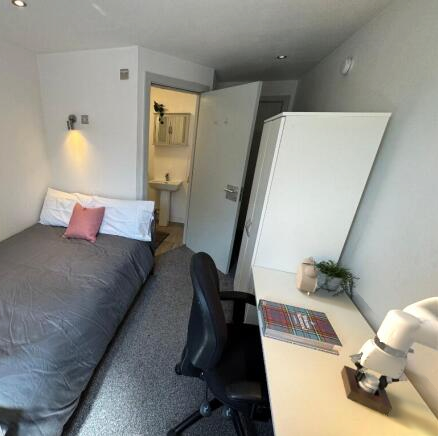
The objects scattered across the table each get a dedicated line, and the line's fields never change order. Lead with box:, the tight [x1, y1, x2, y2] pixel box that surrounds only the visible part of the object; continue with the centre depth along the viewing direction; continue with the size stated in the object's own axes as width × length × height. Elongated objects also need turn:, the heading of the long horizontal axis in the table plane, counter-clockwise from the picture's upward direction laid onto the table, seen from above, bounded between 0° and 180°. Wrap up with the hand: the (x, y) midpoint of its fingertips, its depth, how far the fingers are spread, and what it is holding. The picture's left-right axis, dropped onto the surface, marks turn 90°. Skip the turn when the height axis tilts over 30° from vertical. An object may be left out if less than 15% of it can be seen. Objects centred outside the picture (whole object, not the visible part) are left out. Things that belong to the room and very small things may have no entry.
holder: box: [340, 364, 393, 417], centre depth 83 cm, size 11×11×4 cm
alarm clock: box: [295, 255, 321, 296], centre depth 134 cm, size 16×9×22 cm, turn 155°
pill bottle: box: [357, 371, 380, 395], centre depth 82 cm, size 5×5×8 cm
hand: (368, 381), depth 81 cm, fingers open, 5 cm apart
